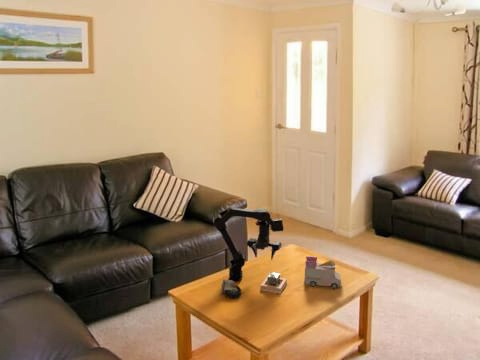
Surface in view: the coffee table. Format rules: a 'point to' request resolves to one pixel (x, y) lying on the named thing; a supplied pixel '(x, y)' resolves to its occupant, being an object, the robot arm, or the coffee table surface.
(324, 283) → the toy vehicle
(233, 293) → the caster wheel
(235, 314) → the coffee table surface
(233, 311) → the coffee table surface
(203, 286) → the coffee table surface
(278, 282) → the grey metal box
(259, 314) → the coffee table surface
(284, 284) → the square tray
